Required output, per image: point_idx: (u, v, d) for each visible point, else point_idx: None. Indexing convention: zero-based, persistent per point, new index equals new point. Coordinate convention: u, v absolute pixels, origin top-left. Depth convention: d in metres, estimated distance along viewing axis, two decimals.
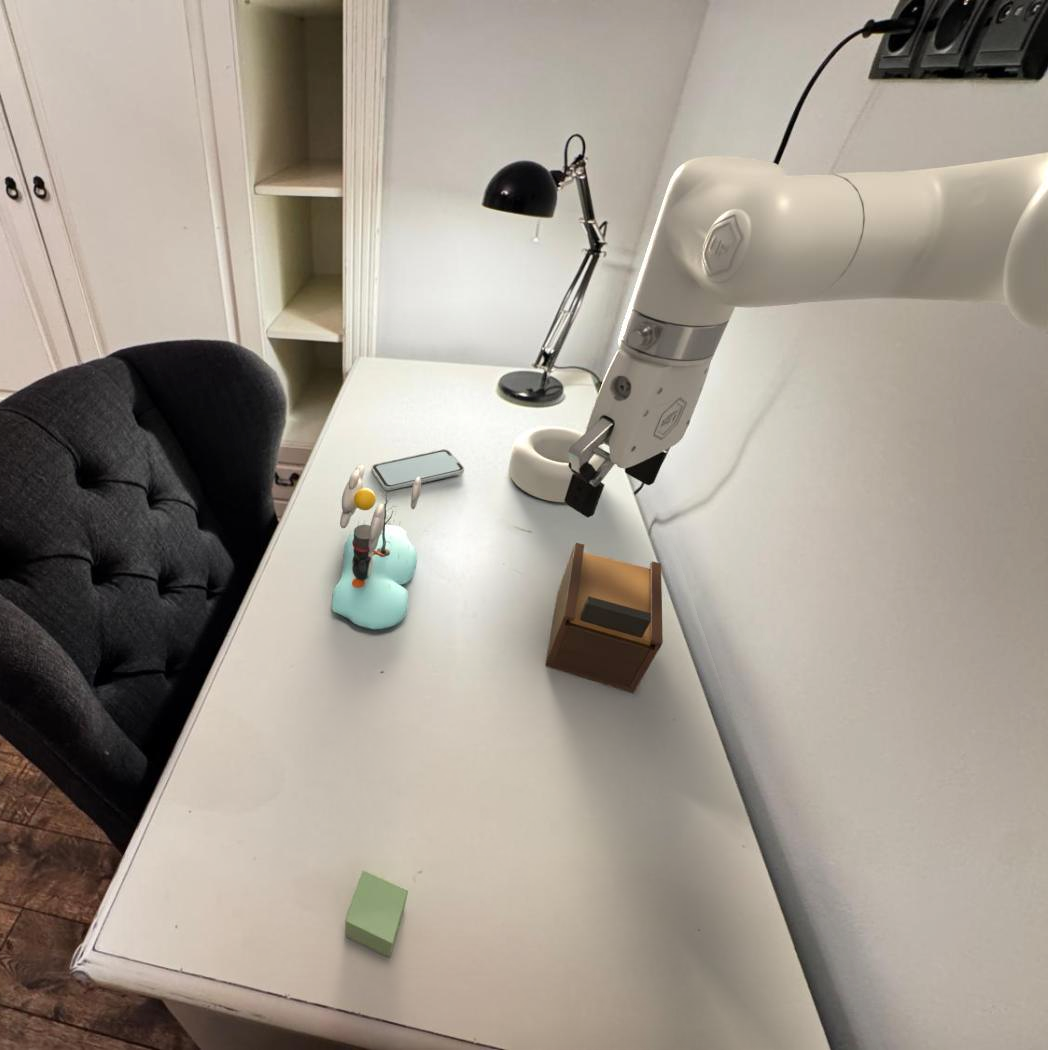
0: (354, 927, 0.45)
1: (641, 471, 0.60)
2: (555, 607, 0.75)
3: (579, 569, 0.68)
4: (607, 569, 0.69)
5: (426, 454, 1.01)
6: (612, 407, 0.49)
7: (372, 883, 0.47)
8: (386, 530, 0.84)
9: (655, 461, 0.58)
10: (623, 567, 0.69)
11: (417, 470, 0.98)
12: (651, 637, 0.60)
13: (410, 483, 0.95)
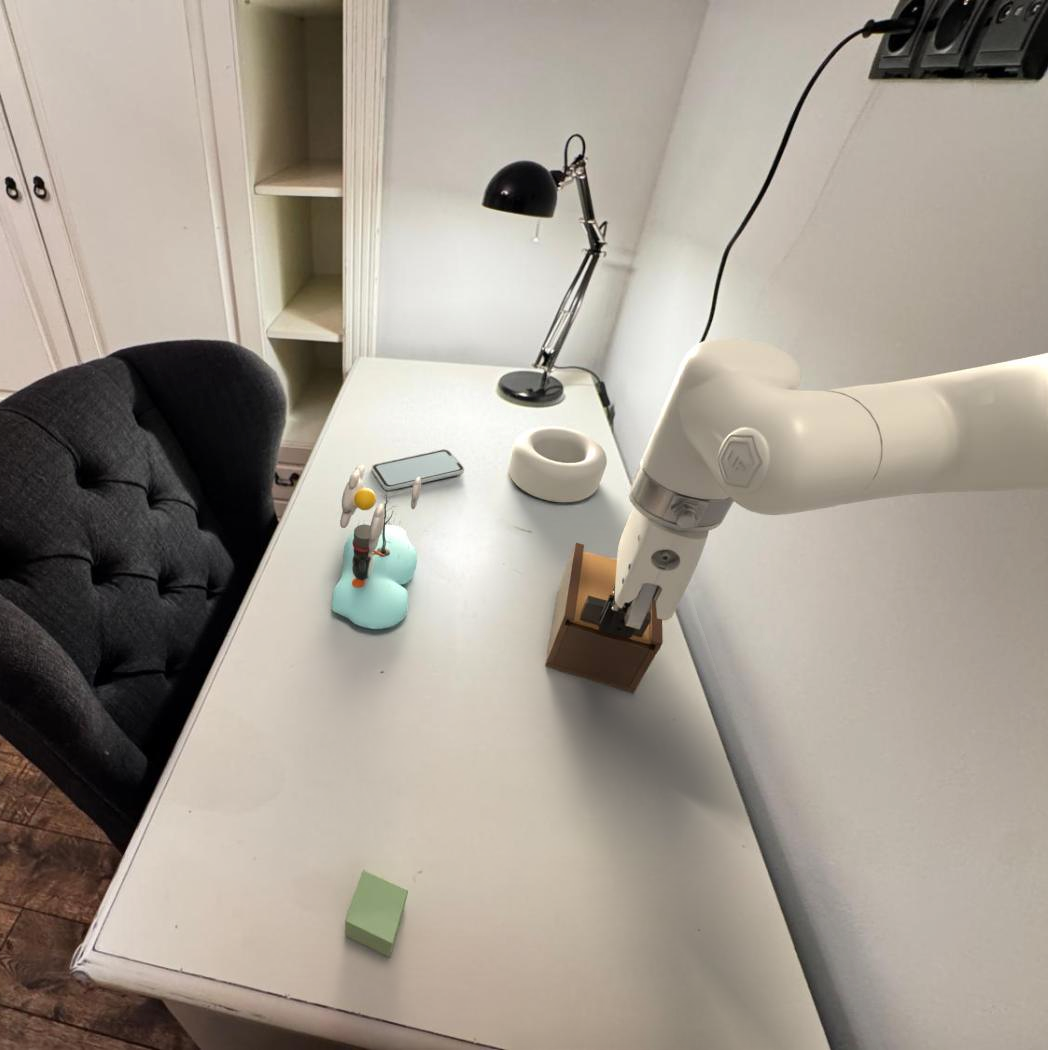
0: (354, 927, 0.45)
1: None
2: (555, 607, 0.75)
3: (579, 569, 0.68)
4: (607, 568, 0.69)
5: (426, 454, 1.01)
6: (657, 576, 0.48)
7: (372, 883, 0.47)
8: (386, 530, 0.84)
9: None
10: None
11: (417, 470, 0.98)
12: (651, 637, 0.60)
13: (410, 483, 0.95)
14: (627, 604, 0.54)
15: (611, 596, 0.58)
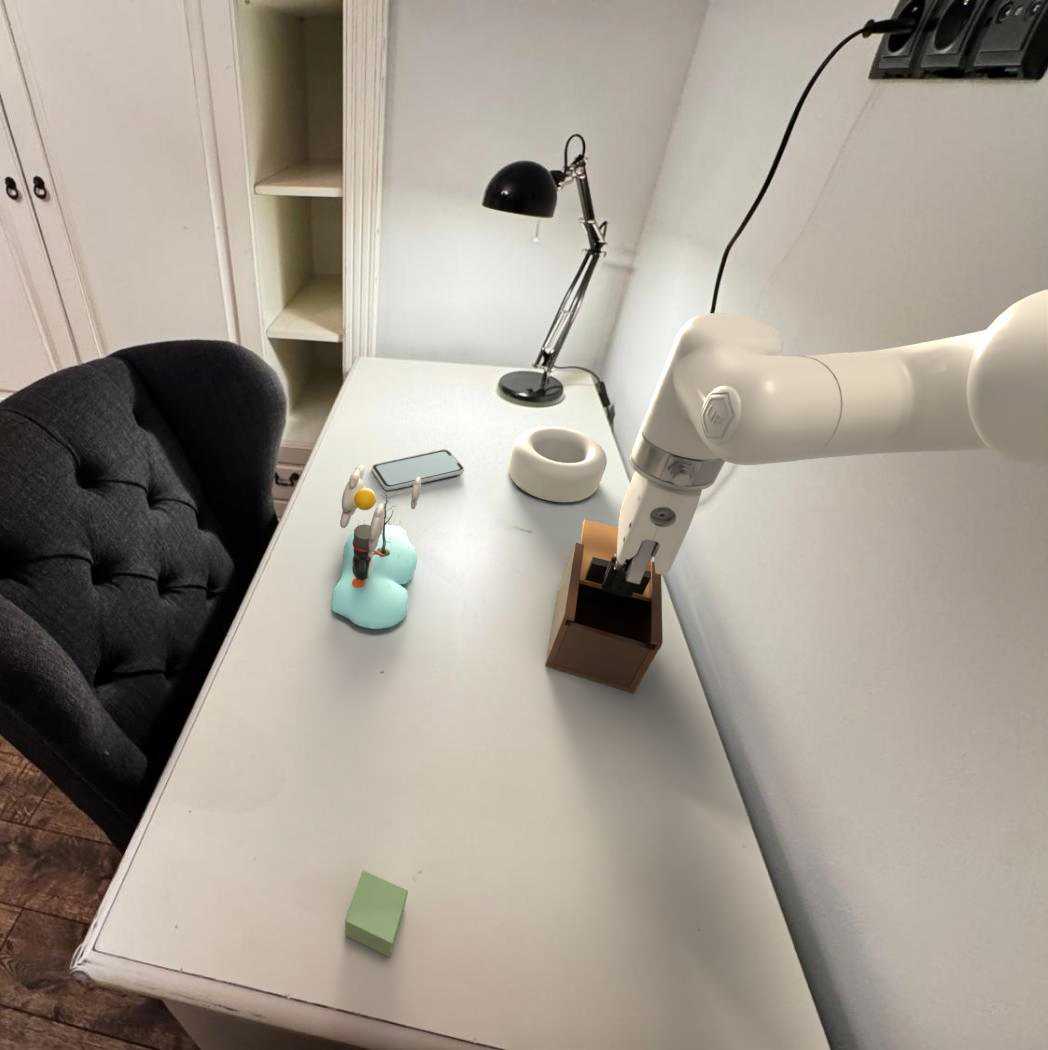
0: (354, 927, 0.45)
1: None
2: (555, 607, 0.75)
3: (579, 569, 0.68)
4: (610, 535, 0.74)
5: (426, 454, 1.01)
6: (656, 532, 0.53)
7: (372, 883, 0.47)
8: (386, 530, 0.84)
9: None
10: None
11: (417, 470, 0.98)
12: (651, 637, 0.60)
13: (410, 483, 0.95)
14: (628, 562, 0.59)
15: (613, 558, 0.63)
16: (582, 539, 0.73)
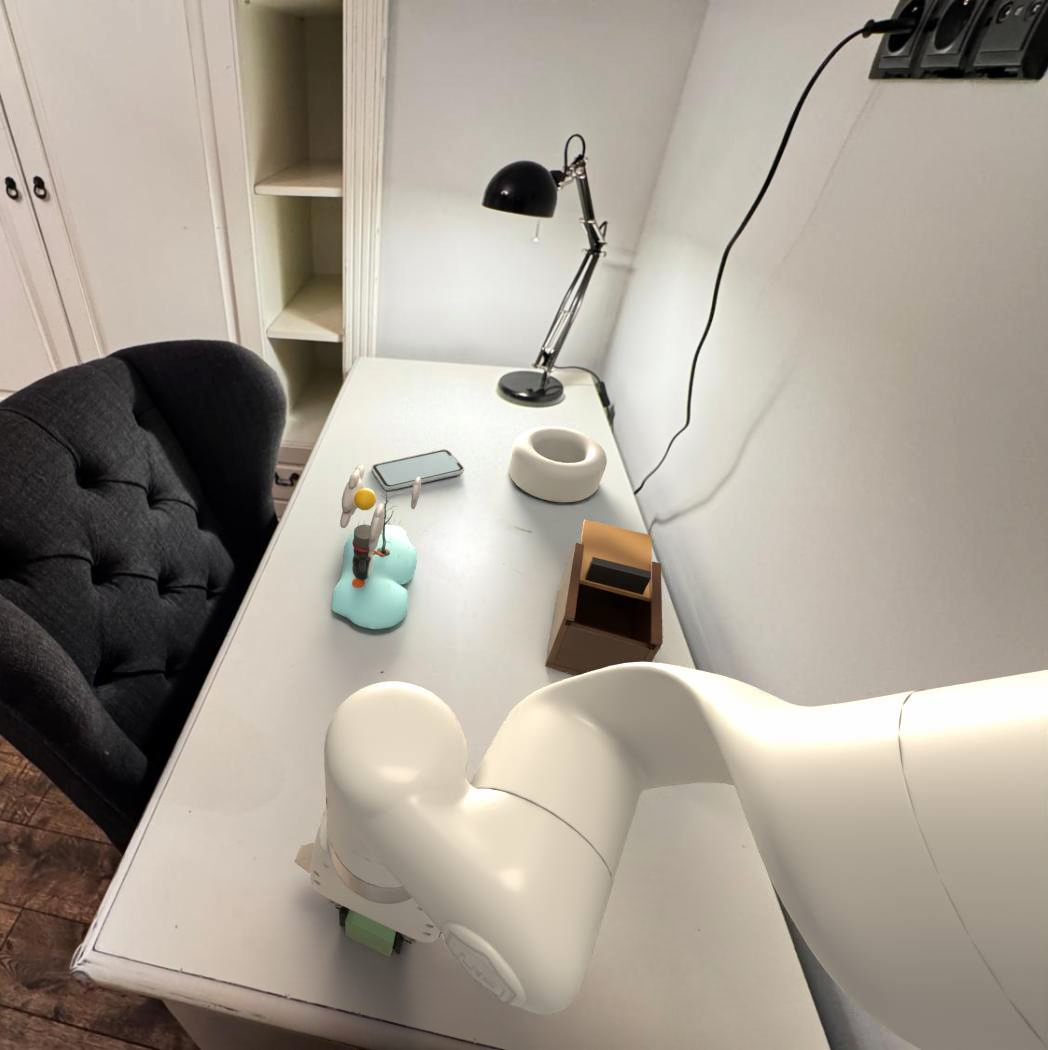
0: (354, 927, 0.45)
1: None
2: (555, 607, 0.75)
3: (579, 569, 0.68)
4: (610, 535, 0.74)
5: (426, 454, 1.01)
6: None
7: None
8: (386, 530, 0.84)
9: None
10: (625, 533, 0.74)
11: (417, 470, 0.98)
12: (651, 637, 0.60)
13: (410, 483, 0.95)
14: None
15: (343, 911, 0.45)
16: (582, 539, 0.73)
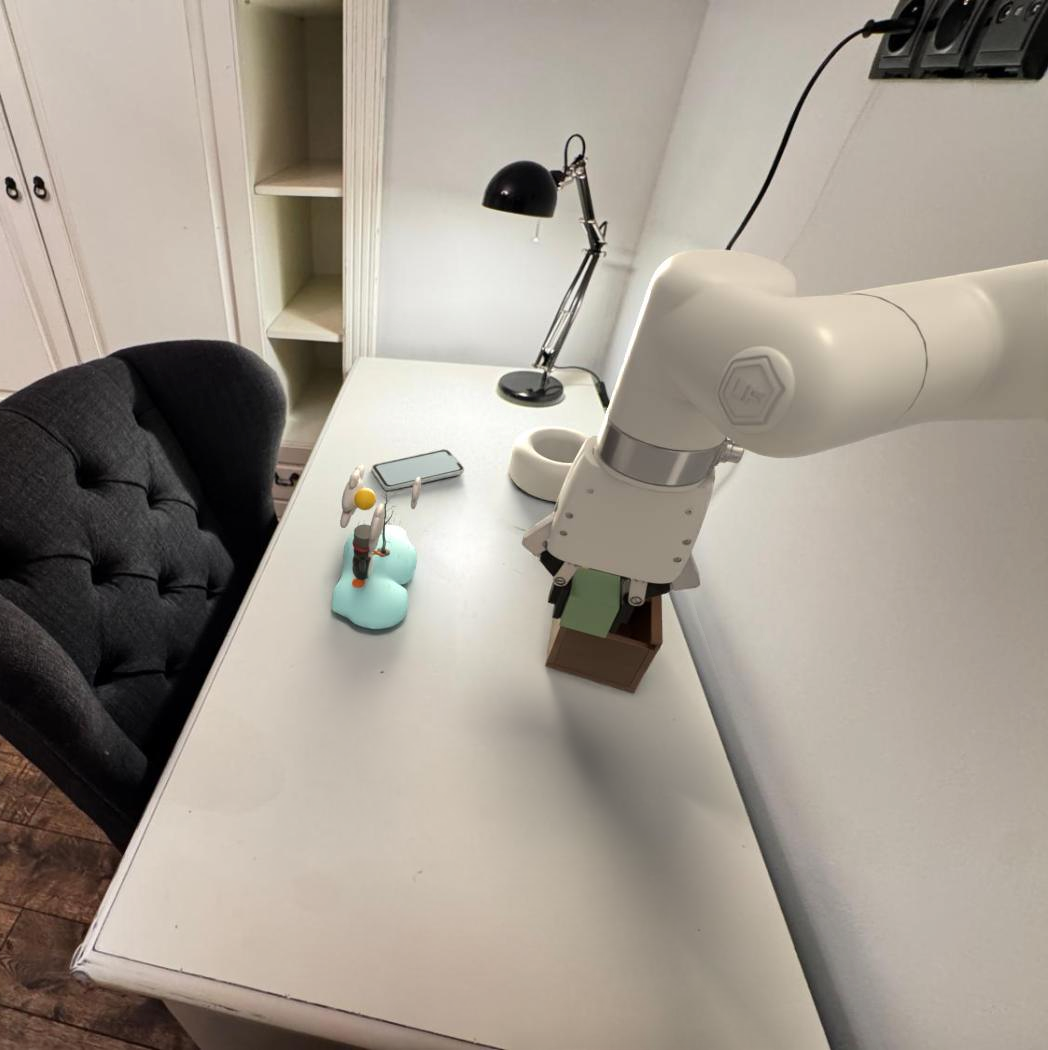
0: (578, 601, 0.49)
1: None
2: None
3: None
4: None
5: (426, 454, 1.01)
6: None
7: (586, 573, 0.51)
8: (386, 530, 0.84)
9: None
10: None
11: (417, 470, 0.98)
12: (651, 637, 0.60)
13: (410, 483, 0.95)
14: (666, 583, 0.46)
15: (566, 588, 0.49)
16: None
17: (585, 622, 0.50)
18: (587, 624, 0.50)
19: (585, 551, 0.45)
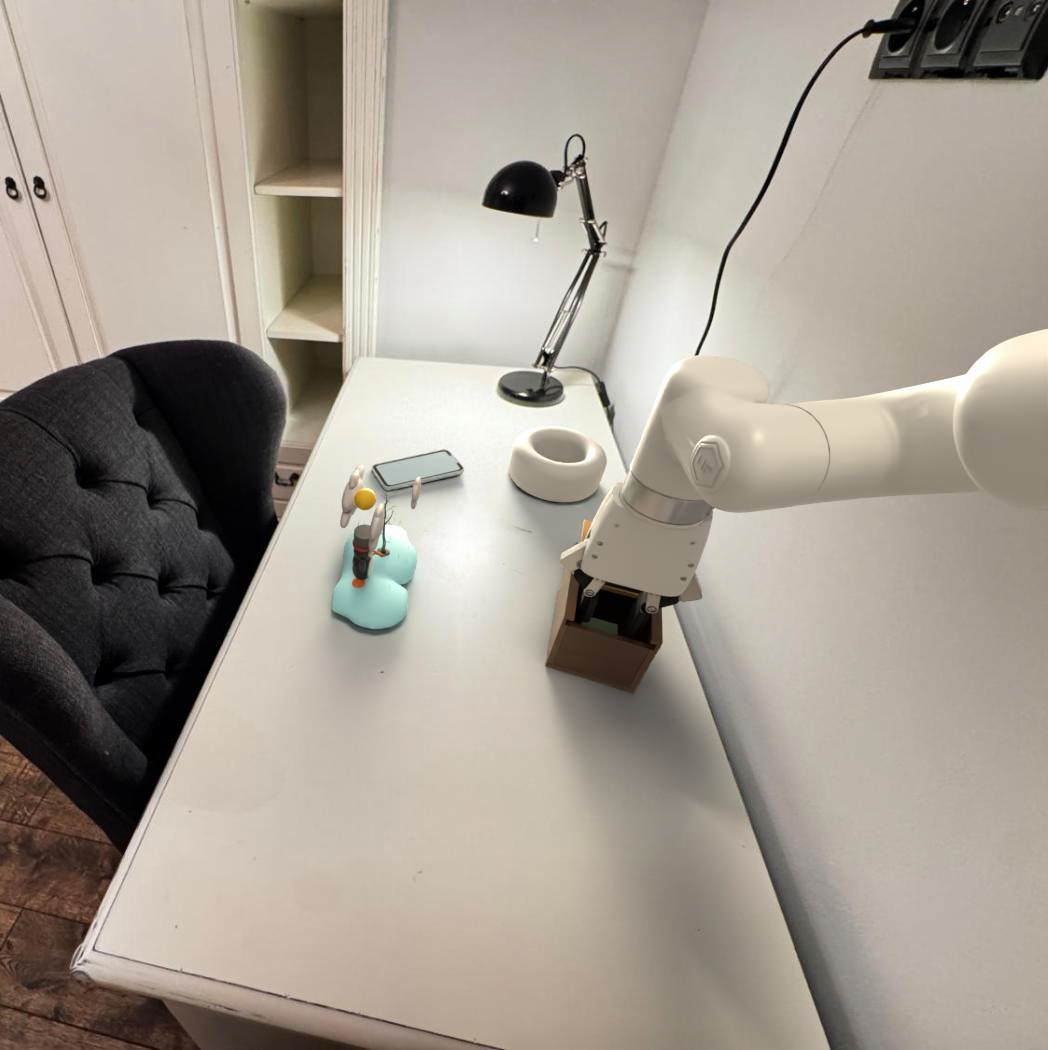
0: None
1: None
2: (555, 607, 0.75)
3: None
4: None
5: (426, 454, 1.01)
6: None
7: (591, 621, 0.68)
8: (386, 530, 0.84)
9: None
10: None
11: (417, 470, 0.98)
12: (651, 637, 0.60)
13: (410, 483, 0.95)
14: (676, 596, 0.59)
15: (594, 599, 0.62)
16: (582, 539, 0.73)
17: None
18: None
19: (611, 570, 0.58)
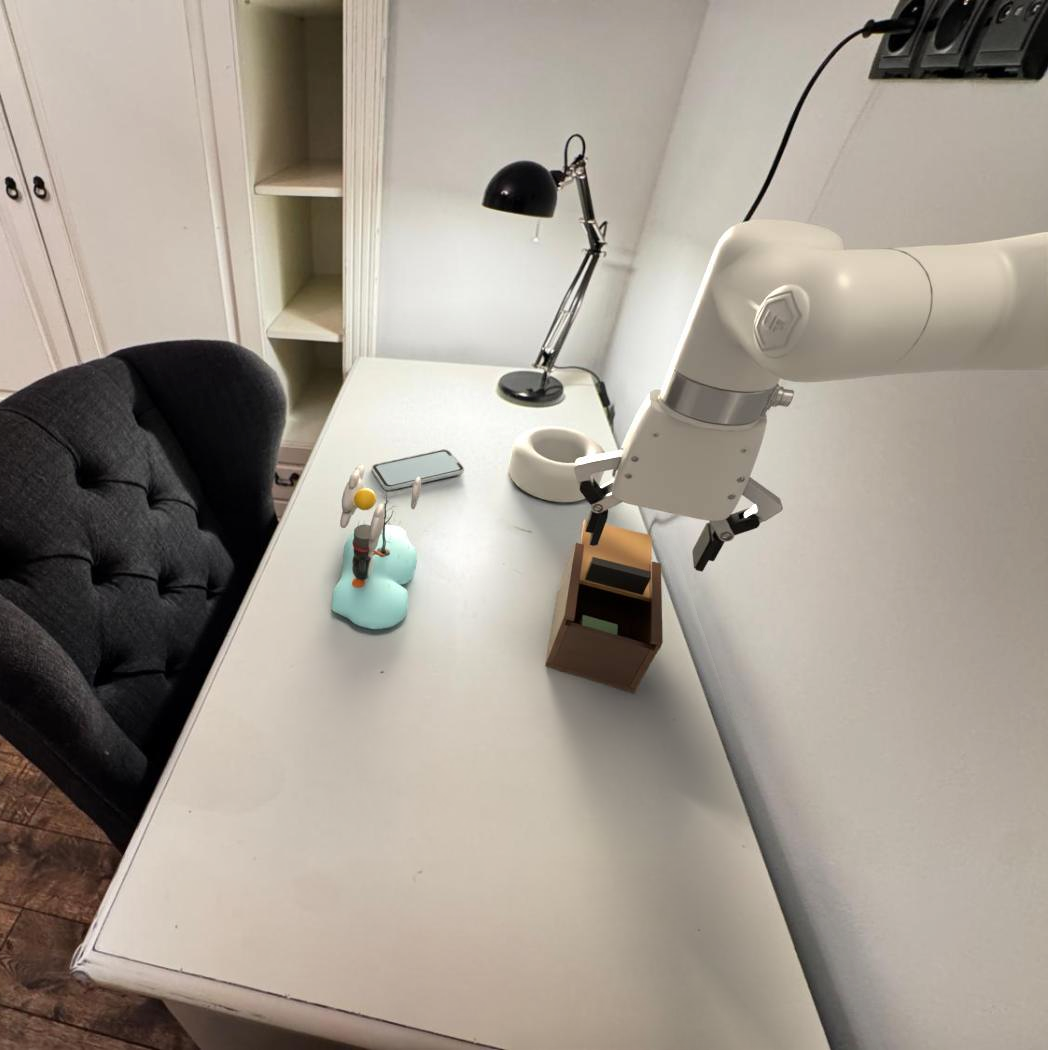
0: None
1: None
2: (555, 607, 0.75)
3: (579, 569, 0.68)
4: (610, 535, 0.74)
5: (426, 454, 1.01)
6: None
7: (591, 621, 0.68)
8: (386, 530, 0.84)
9: None
10: (625, 533, 0.74)
11: (417, 470, 0.98)
12: (651, 637, 0.60)
13: (410, 483, 0.95)
14: (756, 518, 0.50)
15: (603, 515, 0.55)
16: (582, 539, 0.73)
17: None
18: None
19: (647, 492, 0.51)
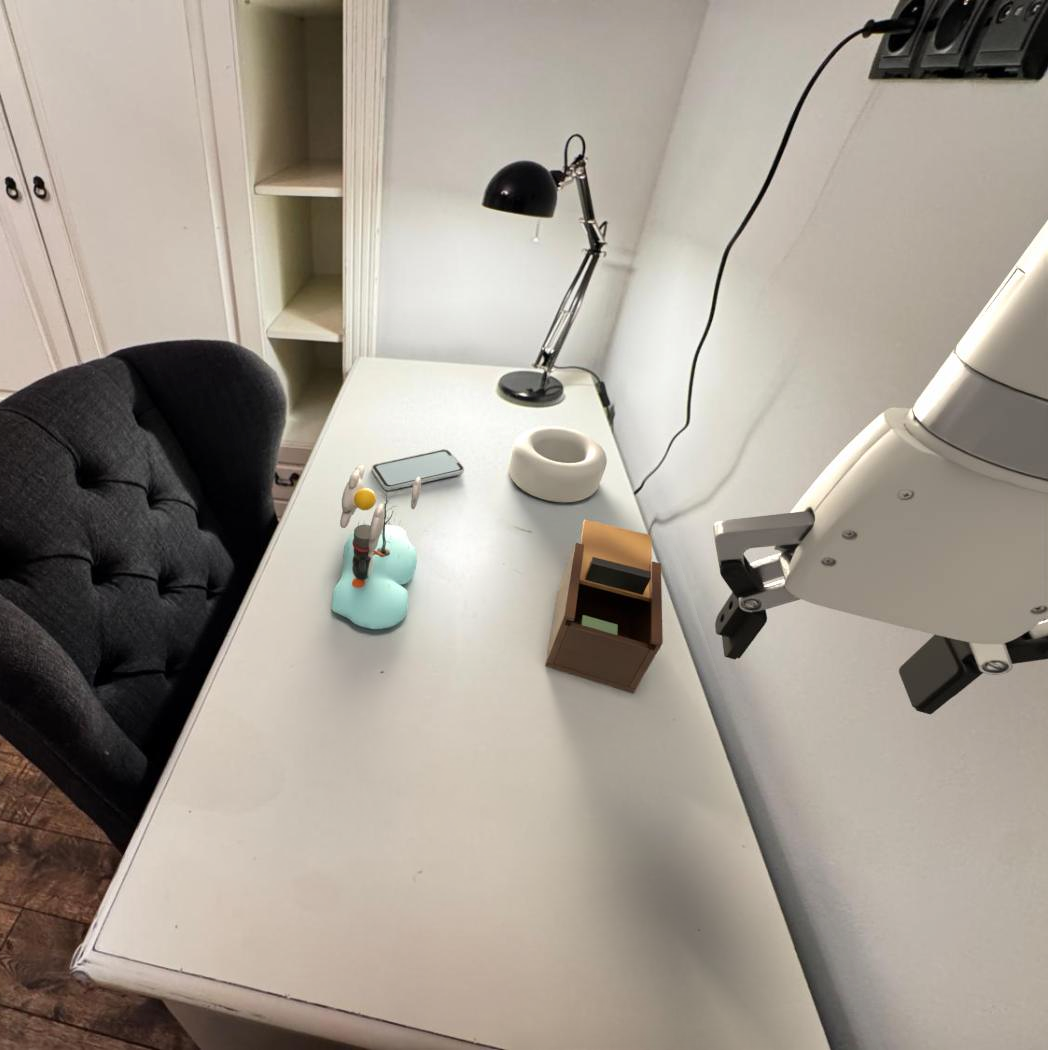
0: None
1: None
2: (555, 607, 0.75)
3: (579, 569, 0.68)
4: (610, 535, 0.74)
5: (426, 454, 1.01)
6: None
7: (591, 621, 0.68)
8: (386, 530, 0.84)
9: None
10: (625, 533, 0.74)
11: (417, 470, 0.98)
12: (651, 637, 0.60)
13: (410, 483, 0.95)
14: None
15: (760, 616, 0.32)
16: (582, 539, 0.73)
17: None
18: None
19: (862, 591, 0.28)
